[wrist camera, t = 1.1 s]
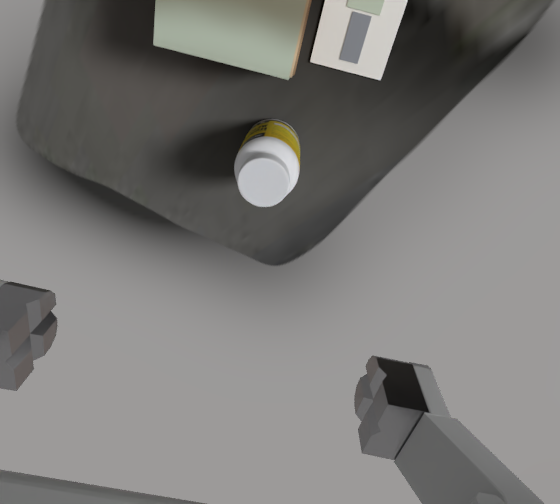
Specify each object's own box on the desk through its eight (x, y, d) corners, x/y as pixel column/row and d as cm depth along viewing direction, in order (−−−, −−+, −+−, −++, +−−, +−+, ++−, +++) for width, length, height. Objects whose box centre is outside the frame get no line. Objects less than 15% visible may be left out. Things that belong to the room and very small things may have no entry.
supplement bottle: (267, 105, 36) (257, 132, 28) (311, 142, 38) (314, 179, 30) (233, 150, 39) (214, 188, 30) (276, 183, 40) (270, 228, 32)
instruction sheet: (345, -85, 29) (346, -85, 29) (427, -60, 30) (428, -61, 29) (309, 61, 34) (309, 62, 34) (380, 80, 35) (380, 80, 35)
